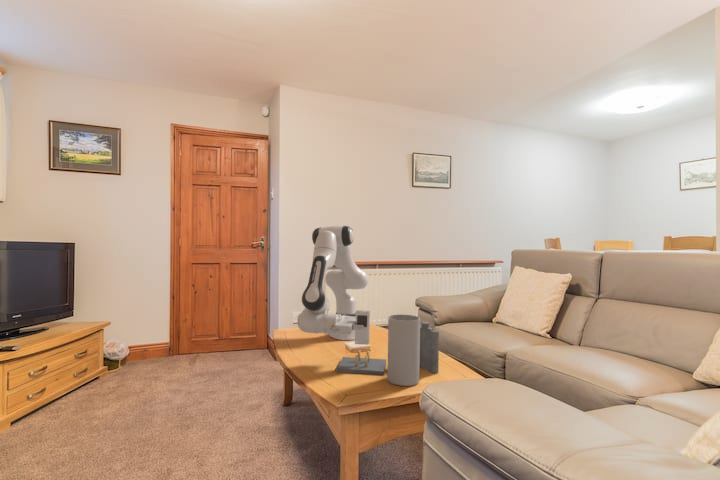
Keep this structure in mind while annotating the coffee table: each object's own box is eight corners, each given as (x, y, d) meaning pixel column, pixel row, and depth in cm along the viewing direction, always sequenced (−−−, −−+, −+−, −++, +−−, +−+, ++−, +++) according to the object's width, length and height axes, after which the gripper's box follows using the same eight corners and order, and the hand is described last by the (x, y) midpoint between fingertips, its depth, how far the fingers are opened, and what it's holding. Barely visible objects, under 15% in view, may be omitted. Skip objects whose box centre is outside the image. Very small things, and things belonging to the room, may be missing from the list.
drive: (355, 341, 161) (356, 310, 161) (369, 342, 160) (370, 310, 160) (354, 343, 157) (355, 311, 157) (368, 344, 156) (369, 312, 157)
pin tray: (343, 360, 168) (343, 347, 168) (386, 362, 165) (386, 349, 165) (336, 372, 152) (336, 357, 152) (383, 375, 149) (384, 360, 149)
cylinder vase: (420, 376, 148) (421, 315, 148) (418, 388, 136) (419, 321, 136) (389, 373, 151) (390, 313, 151) (385, 385, 138) (386, 319, 139)
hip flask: (408, 363, 164) (409, 319, 164) (414, 362, 166) (415, 318, 167) (434, 374, 151) (435, 326, 151) (441, 372, 153) (442, 325, 154)
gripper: (328, 321, 150) (361, 323, 148) (338, 313, 170) (367, 314, 169) (328, 337, 150) (361, 338, 148) (337, 326, 170) (367, 327, 168)
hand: (364, 325), depth 158 cm, fingers closed on drive, 4 cm apart
